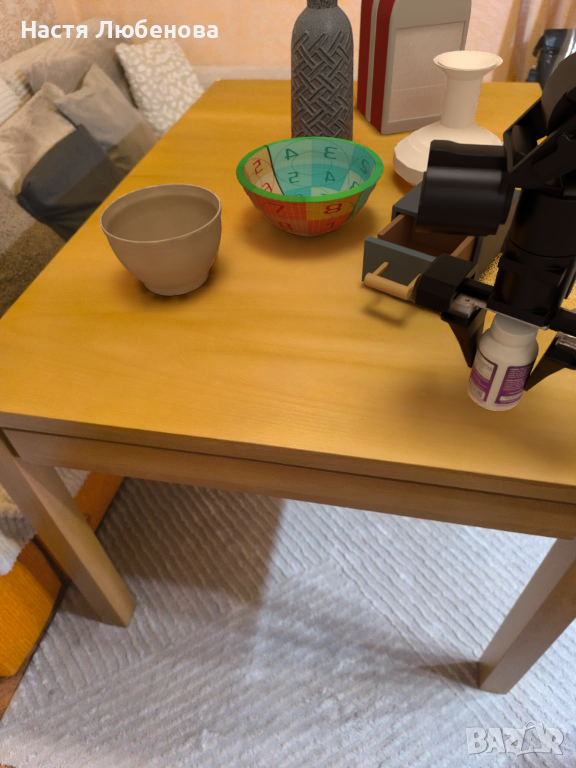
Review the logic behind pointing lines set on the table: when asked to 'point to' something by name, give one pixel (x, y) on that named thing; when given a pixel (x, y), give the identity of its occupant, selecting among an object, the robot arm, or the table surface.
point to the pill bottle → (503, 363)
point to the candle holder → (450, 113)
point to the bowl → (309, 182)
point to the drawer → (407, 255)
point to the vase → (322, 72)
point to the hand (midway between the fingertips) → (498, 376)
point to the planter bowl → (165, 235)
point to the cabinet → (485, 246)
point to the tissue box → (406, 59)
